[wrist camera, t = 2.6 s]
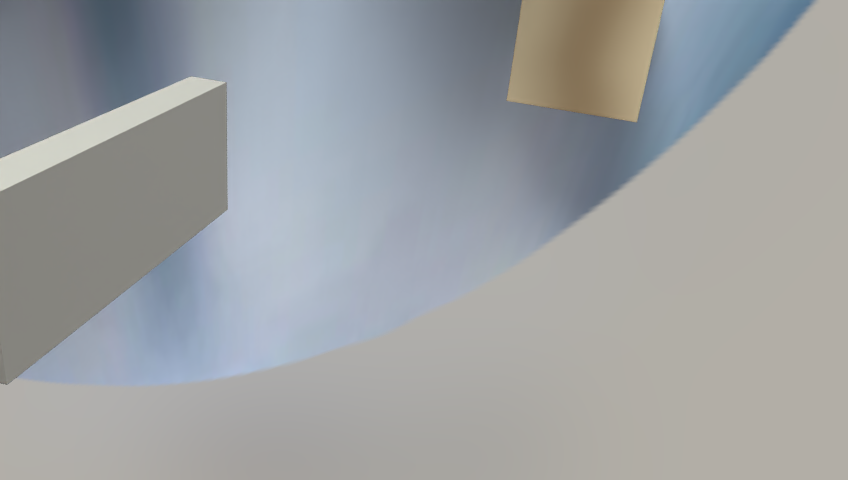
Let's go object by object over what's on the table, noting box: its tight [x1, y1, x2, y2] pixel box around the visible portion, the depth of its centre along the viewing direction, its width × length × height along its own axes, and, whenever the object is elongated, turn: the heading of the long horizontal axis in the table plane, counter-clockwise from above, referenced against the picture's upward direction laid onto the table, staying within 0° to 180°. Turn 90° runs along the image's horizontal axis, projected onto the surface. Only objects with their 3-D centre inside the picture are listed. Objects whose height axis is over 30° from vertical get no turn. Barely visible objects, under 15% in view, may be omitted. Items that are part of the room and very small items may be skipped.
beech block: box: [507, 0, 665, 122], centre depth 33 cm, size 5×5×8 cm
